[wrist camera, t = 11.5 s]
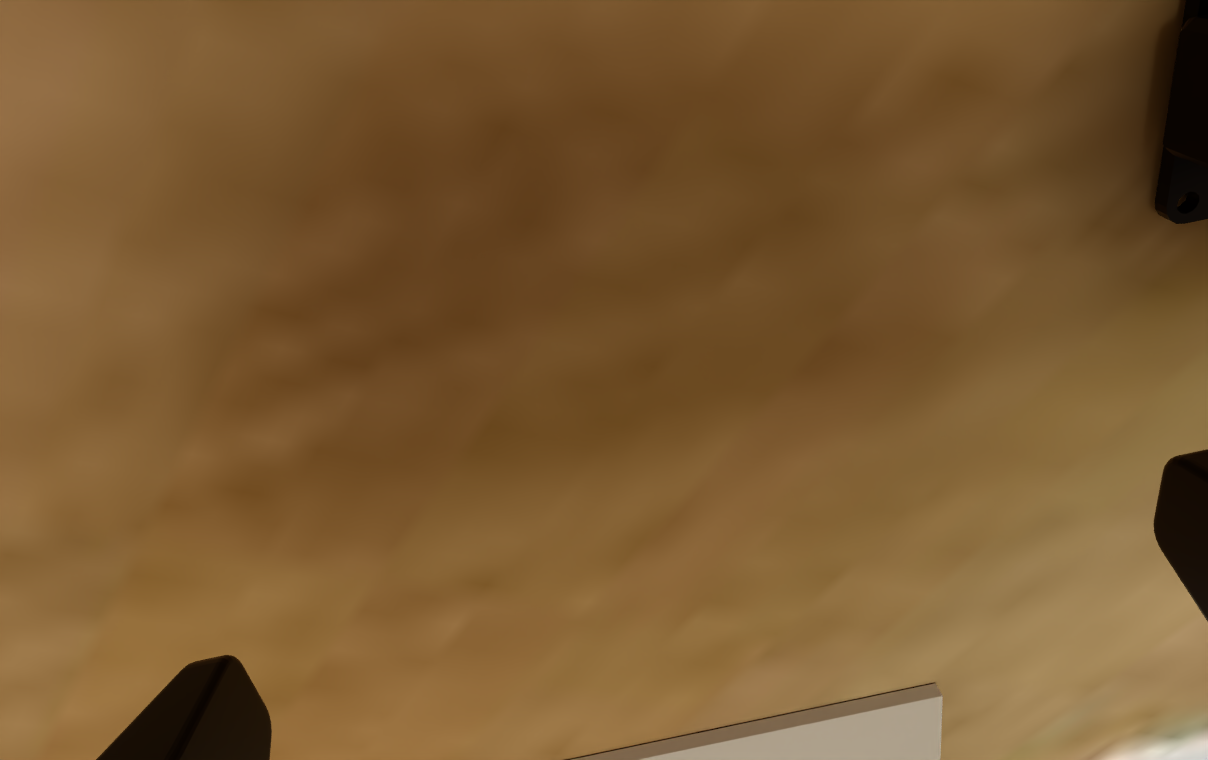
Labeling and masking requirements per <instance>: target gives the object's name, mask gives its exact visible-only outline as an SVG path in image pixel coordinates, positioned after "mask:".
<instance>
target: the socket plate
mask: <svg viewBox="0 0 1208 760" xmlns="http://www.w3.org/2000/svg"><path fill="white" fill-rule="evenodd" d="M942 698H943V696H942V694H941V692H940V690H939V688H938V687H937V685H936V683H934V684H930V685H925V686H920V687H915V688H911V689H906V690H901V691H896V692H891V693H887V694H882V695H877V696H872V697H868V698H863V699H858V700H853V701H849V702H844V703H839V704H834V705H829V706H825V707H820V708H815V709H810V710H806V711H801V712H796V713H791V714H787V715H782V716H777V717H772V718H767V719H763V720H758V721H753V722H748V723H744V724H739V725H734V726H729V727H724V728H720V729H715V730H710V731H705V732H701V733H696V734H691V735H686V736H682V737H677V738H672V739H667V740H662V741H658V742H653V743H648V744H643V745H639V746H634V747H629V748H624V749H620V750H615V751H610V752H605V753H600V754H596V755H591V756H586V757H581V758H577V759H572V760H940V754H941V726H942Z"/></svg>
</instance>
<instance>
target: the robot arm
mask: <svg viewBox="0 0 1208 760" xmlns="http://www.w3.org/2000/svg"><path fill="white" fill-rule="evenodd" d="M1163 145H1164V147H1163V153H1162V160H1161V166H1160V173H1159V179H1158V185H1157V192H1156V198H1155V209H1156V211H1157V213H1158V214H1159V215H1160V216H1162V217H1164V218H1166V219H1168V220H1170V221H1172V222H1174V223H1176V224H1185V223H1190V222H1194V221H1199V220H1204V219H1208V0H1186V4H1185V11H1184V17H1183V24H1182V30H1181V32H1180V35H1179V42H1178V48H1177V55H1176V61H1175V68H1174V74H1173V81H1172V87H1171V94H1170V100H1169V107H1168V113H1167V120H1166V126H1165V133H1164V139H1163ZM1186 193H1187V197H1186V199H1185V201H1184V202H1183V203H1182V204H1181V205H1180V206H1178V207H1177V204H1178V201H1179V199H1180V198H1181V197H1182V196H1183V195H1184V194H1186ZM1154 533H1155V536H1156V540H1157V542H1158V545H1159V547H1160V548H1161V550H1162V552H1163V553H1164V555H1165V557H1166V558H1167V560H1168V561H1169V563H1170V564H1171V566H1172V567H1173V569H1174V570H1175V572H1176V573H1177V575H1178V577H1179V578H1180V580H1181V581H1182V583H1183V584H1184V586H1185V587H1186V589H1187V590H1188V592H1189V594H1190V595H1191V597H1192V598H1193V600H1194V601H1195V603H1196V604H1197V606H1198V607H1199V609H1200V610H1201V612H1202V614H1203V615H1204V617H1205V618H1206V620H1207V621H1208V450H1202V451H1198V452H1193V453H1188V454H1183V455H1178V456H1175V457H1173V458H1171V459H1170V460H1169V461H1168V462H1167V464H1166V465H1165V467H1164V470H1163V474H1162V480H1161V485H1160V490H1159V496H1158V501H1157V506H1156V512H1155V517H1154ZM271 733H272V731H271V721H270V716H269V713H268V710H267V708H266V706H265V704H264V702H263V700H262V699H261V697H260V695H259V693H258V692H257V690H256V688H255V686H254V684H253V683H252V681H251V679H250V677H249V676H248V674H247V672H246V670H245V668H244V667H243V665H242V664H241V662H240V661H239V660H238V659H237V658H236V657H234V656H230V655H224V656H219V657H214V658H209V659H205V660H200V661H195V662H193V663H190V664H188V665H187V666H186V667H184V668H183V669H182V670H181V671H180V672H179V673H178V674H177V675H176V676H175V677H174V678H173V679H172V681H171V682H170V683H169V684H168V685H167V686H166V687H165V688H164V689H163V690H162V691H161V692H160V693H159V694H158V695H157V696H156V697H155V698H154V699H153V701H152V702H151V703H150V704H149V705H148V706H147V707H146V708H145V709H144V710H143V711H142V712H141V713H140V714H139V715H138V716H137V717H136V718H135V719H134V720H133V722H132V723H131V724H130V725H129V726H128V727H127V728H126V729H125V730H124V731H123V732H122V733H121V734H120V735H119V736H118V737H117V738H116V739H115V740H114V742H113V743H112V744H111V745H110V746H109V747H108V748H107V749H106V750H105V751H104V752H103V753H102V754H101V755H100V756H99V757H98V758H97V759H96V760H269V759H270V748H271Z"/></svg>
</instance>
